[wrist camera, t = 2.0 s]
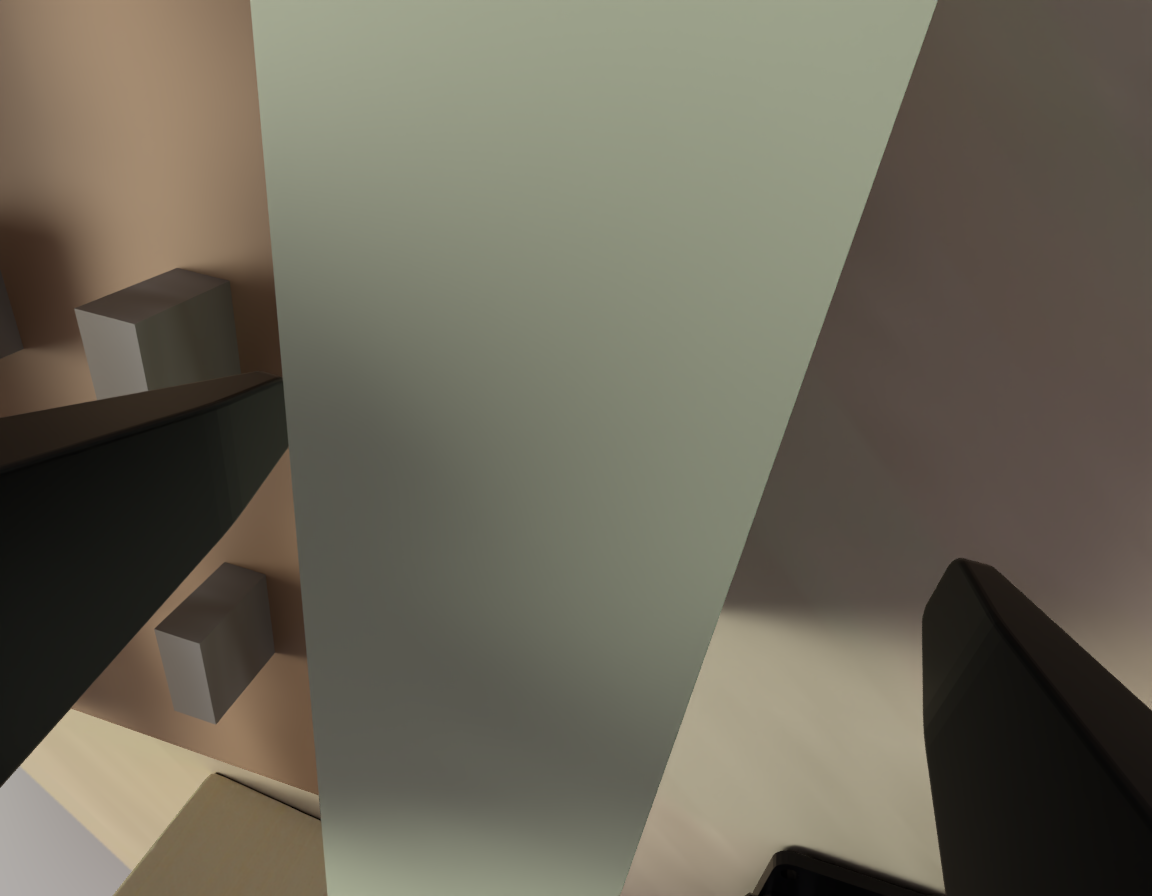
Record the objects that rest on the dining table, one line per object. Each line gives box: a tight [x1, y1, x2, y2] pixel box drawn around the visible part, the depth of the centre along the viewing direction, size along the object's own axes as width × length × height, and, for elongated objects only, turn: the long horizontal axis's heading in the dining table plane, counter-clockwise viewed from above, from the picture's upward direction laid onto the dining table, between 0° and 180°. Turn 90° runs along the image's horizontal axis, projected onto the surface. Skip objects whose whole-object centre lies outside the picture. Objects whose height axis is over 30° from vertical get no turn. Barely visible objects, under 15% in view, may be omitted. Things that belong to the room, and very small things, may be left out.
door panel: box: [250, 0, 938, 896], centre depth 10 cm, size 3×14×10 cm, turn 172°
